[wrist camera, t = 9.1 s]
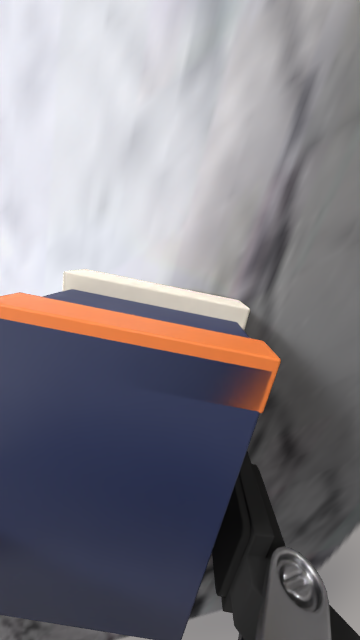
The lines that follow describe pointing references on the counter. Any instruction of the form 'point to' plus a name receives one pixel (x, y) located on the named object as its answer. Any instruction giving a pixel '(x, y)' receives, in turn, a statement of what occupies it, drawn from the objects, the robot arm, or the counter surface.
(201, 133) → the counter surface
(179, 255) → the counter surface
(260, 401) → the blue orange block
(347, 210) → the counter surface
